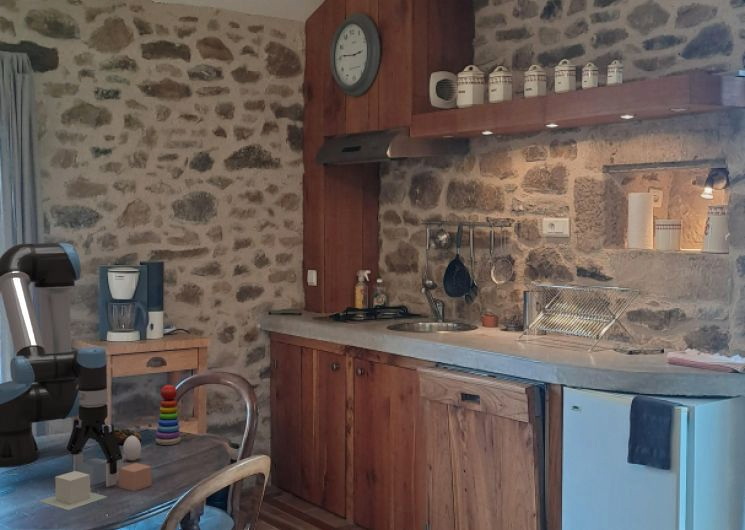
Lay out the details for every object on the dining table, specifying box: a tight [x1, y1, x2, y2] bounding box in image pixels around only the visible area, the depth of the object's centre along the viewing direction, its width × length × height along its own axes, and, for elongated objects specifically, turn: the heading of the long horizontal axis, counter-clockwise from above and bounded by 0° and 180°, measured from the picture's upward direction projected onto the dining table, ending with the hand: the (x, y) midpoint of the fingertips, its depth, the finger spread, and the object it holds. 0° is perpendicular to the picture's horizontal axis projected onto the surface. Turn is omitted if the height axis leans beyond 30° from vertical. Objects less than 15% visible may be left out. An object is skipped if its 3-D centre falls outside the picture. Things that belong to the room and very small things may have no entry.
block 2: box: [78, 457, 108, 486], centre depth 239 cm, size 6×6×6 cm
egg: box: [122, 436, 142, 461], centre depth 261 cm, size 5×5×7 cm
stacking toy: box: [155, 384, 182, 446], centre depth 281 cm, size 8×8×19 cm
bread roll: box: [114, 428, 143, 447], centre depth 283 cm, size 11×11×5 cm
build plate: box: [39, 491, 108, 511], centre depth 224 cm, size 12×12×1 cm
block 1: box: [54, 470, 91, 504], centre depth 223 cm, size 6×6×6 cm
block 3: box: [118, 462, 153, 492], centre depth 234 cm, size 6×6×6 cm
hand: (94, 481), depth 239 cm, fingers open, 13 cm apart
